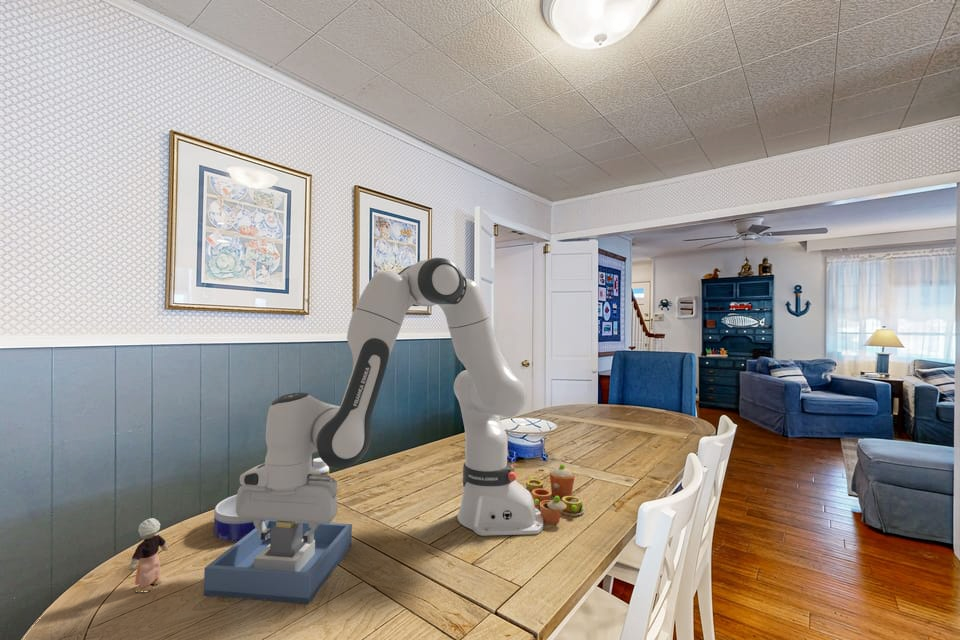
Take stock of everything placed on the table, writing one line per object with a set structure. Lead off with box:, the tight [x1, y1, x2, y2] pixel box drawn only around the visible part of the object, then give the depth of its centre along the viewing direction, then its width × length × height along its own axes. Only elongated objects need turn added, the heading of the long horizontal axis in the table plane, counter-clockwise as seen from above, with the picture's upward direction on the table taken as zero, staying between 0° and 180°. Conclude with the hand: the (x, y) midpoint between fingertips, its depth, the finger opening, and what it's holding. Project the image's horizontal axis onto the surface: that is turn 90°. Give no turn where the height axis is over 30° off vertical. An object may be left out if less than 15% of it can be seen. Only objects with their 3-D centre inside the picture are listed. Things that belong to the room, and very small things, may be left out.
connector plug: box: [270, 521, 303, 558], centre depth 87 cm, size 4×4×9 cm
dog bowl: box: [213, 494, 265, 542], centre depth 104 cm, size 15×15×6 cm
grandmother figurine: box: [128, 517, 169, 592], centre depth 80 cm, size 8×4×13 cm, turn 5°
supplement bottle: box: [311, 457, 330, 476], centre depth 126 cm, size 5×5×10 cm
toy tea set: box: [521, 463, 585, 525], centre depth 121 cm, size 26×16×10 cm, turn 5°
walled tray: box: [203, 520, 353, 605], centre depth 87 cm, size 20×20×5 cm
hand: (286, 540), depth 87 cm, fingers open, 8 cm apart
